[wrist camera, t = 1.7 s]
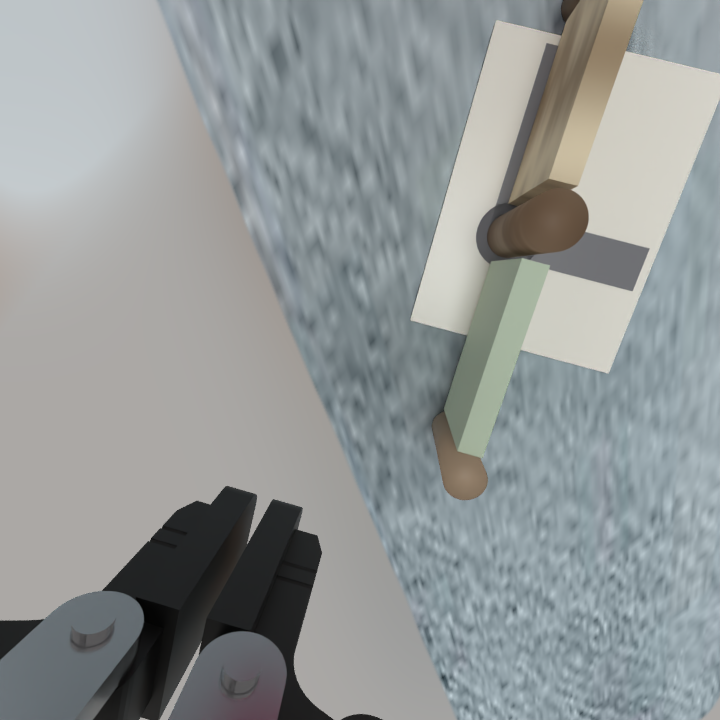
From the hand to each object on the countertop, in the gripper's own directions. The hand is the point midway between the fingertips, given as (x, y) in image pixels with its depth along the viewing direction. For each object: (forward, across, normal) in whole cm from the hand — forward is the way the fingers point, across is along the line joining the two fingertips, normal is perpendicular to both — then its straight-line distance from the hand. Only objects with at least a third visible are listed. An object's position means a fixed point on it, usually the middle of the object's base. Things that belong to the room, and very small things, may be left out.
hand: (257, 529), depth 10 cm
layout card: (+17, -9, -12) cm, 23 cm away
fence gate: (+16, -7, -3) cm, 18 cm away
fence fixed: (+17, -7, -16) cm, 24 cm away
